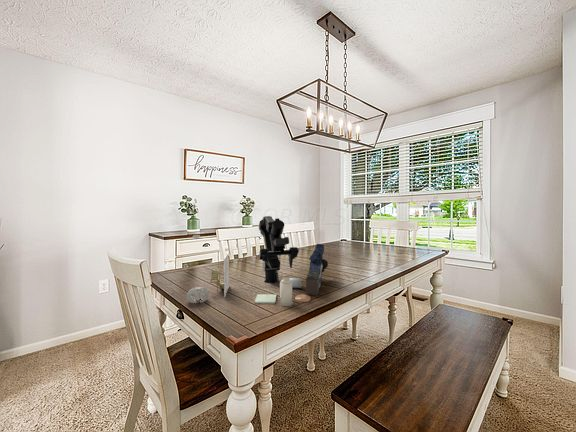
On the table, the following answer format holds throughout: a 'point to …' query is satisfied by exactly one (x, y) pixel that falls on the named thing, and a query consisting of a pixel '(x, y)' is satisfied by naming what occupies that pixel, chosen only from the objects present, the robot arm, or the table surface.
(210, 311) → the table surface
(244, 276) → the table surface
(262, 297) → the pad
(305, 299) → the tan disc
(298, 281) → the white rounded cylinder
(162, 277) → the table surface
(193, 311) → the table surface
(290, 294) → the stoneware bottle
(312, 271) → the toy
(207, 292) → the pendant light
